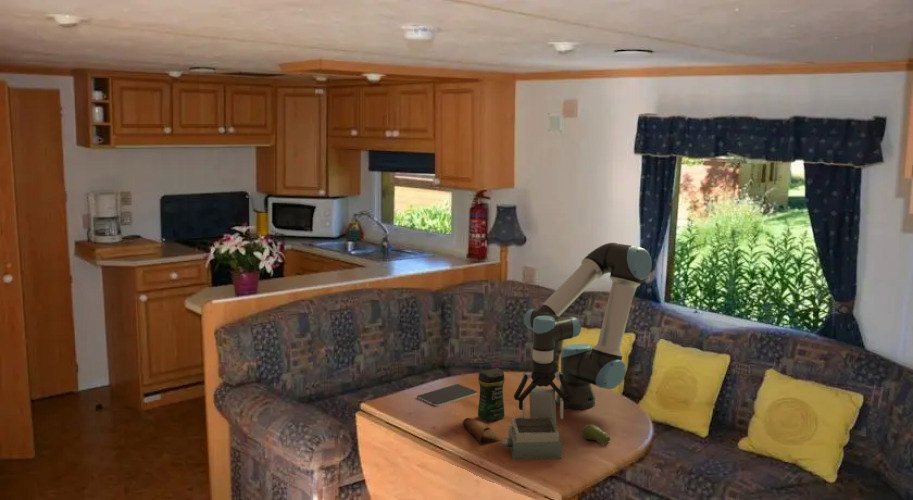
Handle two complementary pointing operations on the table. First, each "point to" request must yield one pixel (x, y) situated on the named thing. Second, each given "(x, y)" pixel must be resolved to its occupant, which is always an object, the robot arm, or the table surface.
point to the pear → (595, 434)
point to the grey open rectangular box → (533, 439)
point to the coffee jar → (491, 395)
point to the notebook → (447, 395)
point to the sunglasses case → (480, 431)
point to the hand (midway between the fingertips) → (542, 417)
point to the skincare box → (542, 403)
